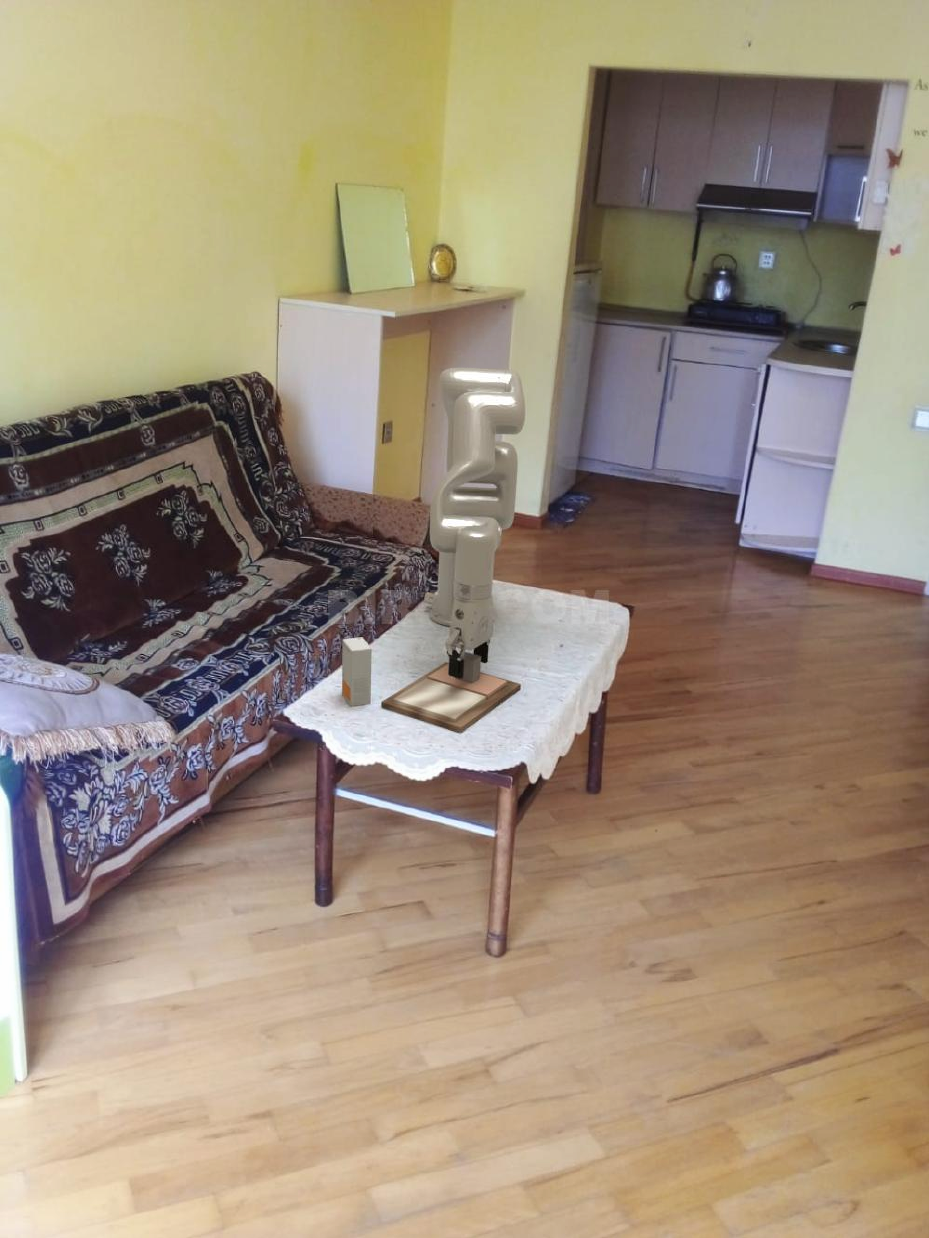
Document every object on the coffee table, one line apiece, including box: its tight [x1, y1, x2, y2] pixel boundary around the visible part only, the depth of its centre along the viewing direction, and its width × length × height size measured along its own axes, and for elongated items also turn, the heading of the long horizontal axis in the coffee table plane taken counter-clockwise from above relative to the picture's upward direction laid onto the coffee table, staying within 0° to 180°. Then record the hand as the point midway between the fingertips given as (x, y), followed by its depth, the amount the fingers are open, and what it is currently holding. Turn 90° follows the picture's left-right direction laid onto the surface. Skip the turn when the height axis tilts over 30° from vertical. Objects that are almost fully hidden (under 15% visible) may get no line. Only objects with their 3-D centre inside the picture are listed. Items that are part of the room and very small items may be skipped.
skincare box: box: [341, 636, 373, 707], centre depth 215 cm, size 6×4×12 cm
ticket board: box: [380, 661, 522, 734], centre depth 220 cm, size 18×24×2 cm
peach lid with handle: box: [428, 651, 507, 698], centre depth 223 cm, size 14×8×6 cm, turn 59°
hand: (468, 669), depth 223 cm, fingers open, 9 cm apart
